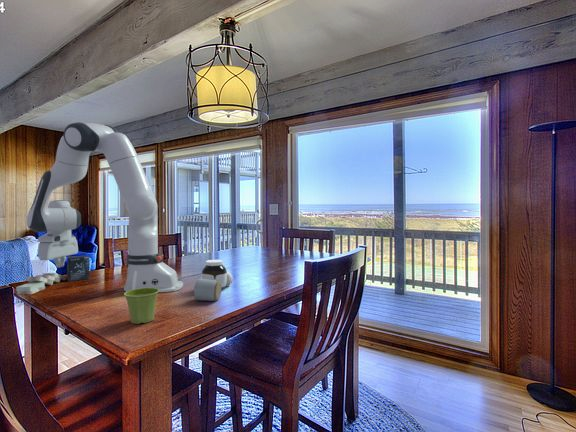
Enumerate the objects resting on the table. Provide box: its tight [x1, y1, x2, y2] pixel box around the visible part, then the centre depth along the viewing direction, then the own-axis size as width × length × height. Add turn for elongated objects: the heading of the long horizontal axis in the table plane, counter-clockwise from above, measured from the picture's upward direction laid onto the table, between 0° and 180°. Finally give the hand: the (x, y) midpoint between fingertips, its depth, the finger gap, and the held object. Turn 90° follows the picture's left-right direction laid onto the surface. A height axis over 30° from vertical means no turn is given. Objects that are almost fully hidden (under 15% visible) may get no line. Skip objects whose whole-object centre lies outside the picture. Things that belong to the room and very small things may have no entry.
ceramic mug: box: [193, 278, 222, 302], centre depth 115 cm, size 11×8×8 cm
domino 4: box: [35, 274, 61, 284], centre depth 133 cm, size 5×2×8 cm
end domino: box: [42, 272, 67, 281], centre depth 137 cm, size 5×2×8 cm
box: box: [66, 254, 91, 282], centre depth 143 cm, size 8×6×11 cm
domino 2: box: [15, 282, 46, 292], centre depth 123 cm, size 5×2×8 cm
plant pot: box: [123, 288, 160, 325], centre depth 92 cm, size 9×9×9 cm
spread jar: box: [200, 259, 234, 291], centre depth 130 cm, size 12×11×12 cm
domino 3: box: [16, 285, 46, 295], centre depth 123 cm, size 5×2×8 cm
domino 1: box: [26, 275, 54, 286], centre depth 129 cm, size 5×2×8 cm
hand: (60, 266), depth 142 cm, fingers closed
